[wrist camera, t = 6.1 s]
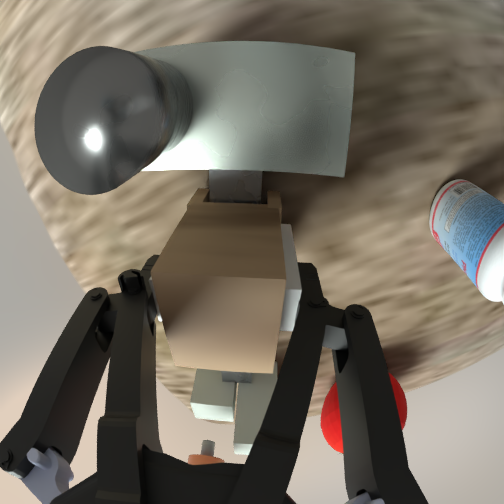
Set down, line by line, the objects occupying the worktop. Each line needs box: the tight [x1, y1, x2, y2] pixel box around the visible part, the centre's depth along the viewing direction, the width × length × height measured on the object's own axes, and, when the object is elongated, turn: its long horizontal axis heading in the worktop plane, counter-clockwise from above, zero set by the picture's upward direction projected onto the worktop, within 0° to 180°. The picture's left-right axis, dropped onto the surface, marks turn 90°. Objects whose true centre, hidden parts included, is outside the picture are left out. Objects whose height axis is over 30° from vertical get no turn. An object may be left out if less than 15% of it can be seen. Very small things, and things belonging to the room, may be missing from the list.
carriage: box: [151, 189, 287, 373], centre depth 15 cm, size 6×5×10 cm
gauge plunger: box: [188, 440, 224, 465], centre depth 19 cm, size 3×3×5 cm
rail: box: [35, 41, 355, 383], centre depth 16 cm, size 27×8×13 cm, turn 178°
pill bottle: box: [429, 179, 504, 304], centre depth 14 cm, size 6×6×11 cm
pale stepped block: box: [190, 362, 277, 455], centre depth 25 cm, size 4×9×10 cm, turn 88°
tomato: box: [321, 373, 407, 454], centre depth 26 cm, size 10×11×11 cm
